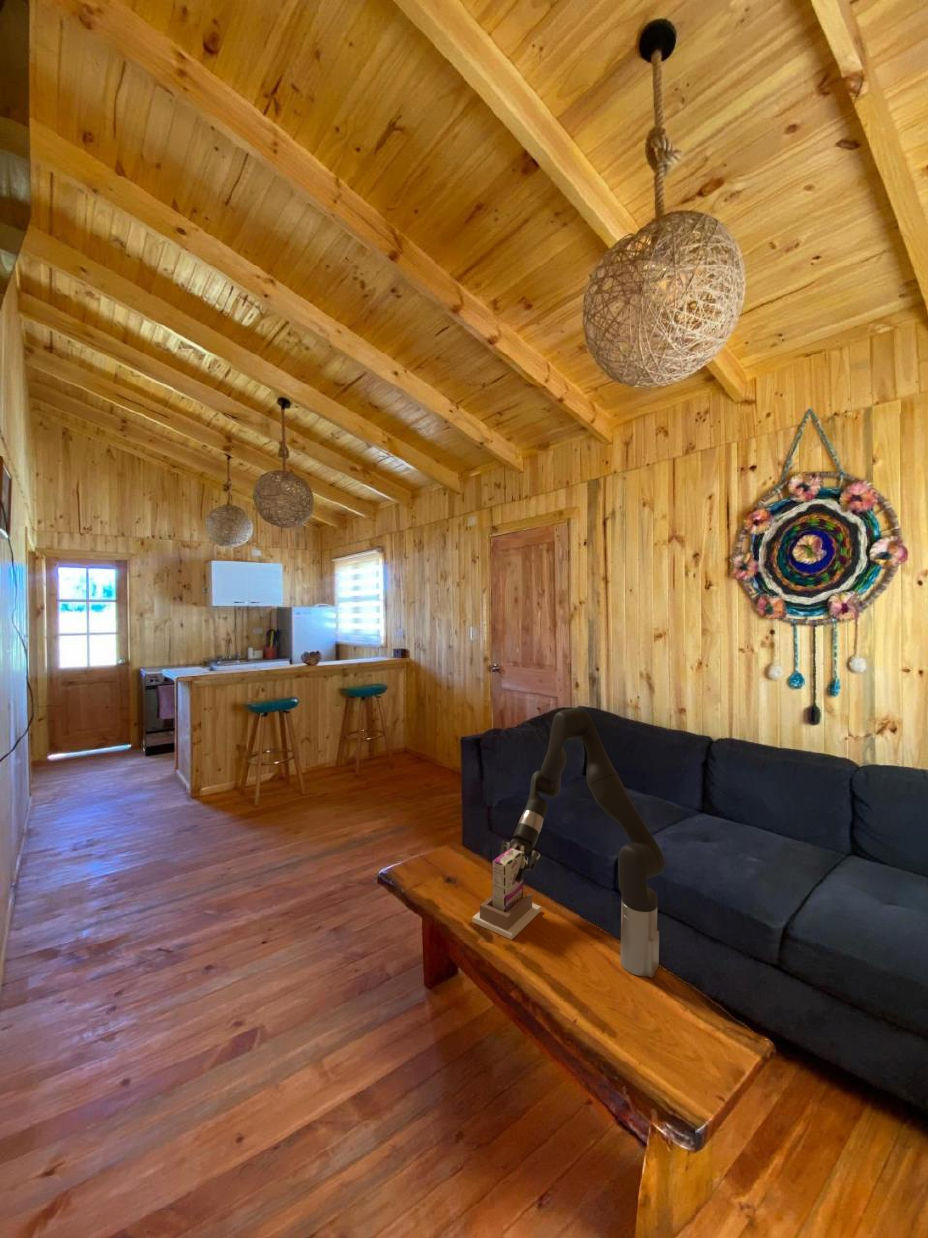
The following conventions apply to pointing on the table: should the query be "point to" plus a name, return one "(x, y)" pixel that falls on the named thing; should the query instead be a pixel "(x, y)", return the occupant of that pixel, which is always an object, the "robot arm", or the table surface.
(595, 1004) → the table surface
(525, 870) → the robot arm
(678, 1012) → the table surface
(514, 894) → the candy bar box
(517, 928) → the slot stand
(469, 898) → the table surface
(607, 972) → the table surface
